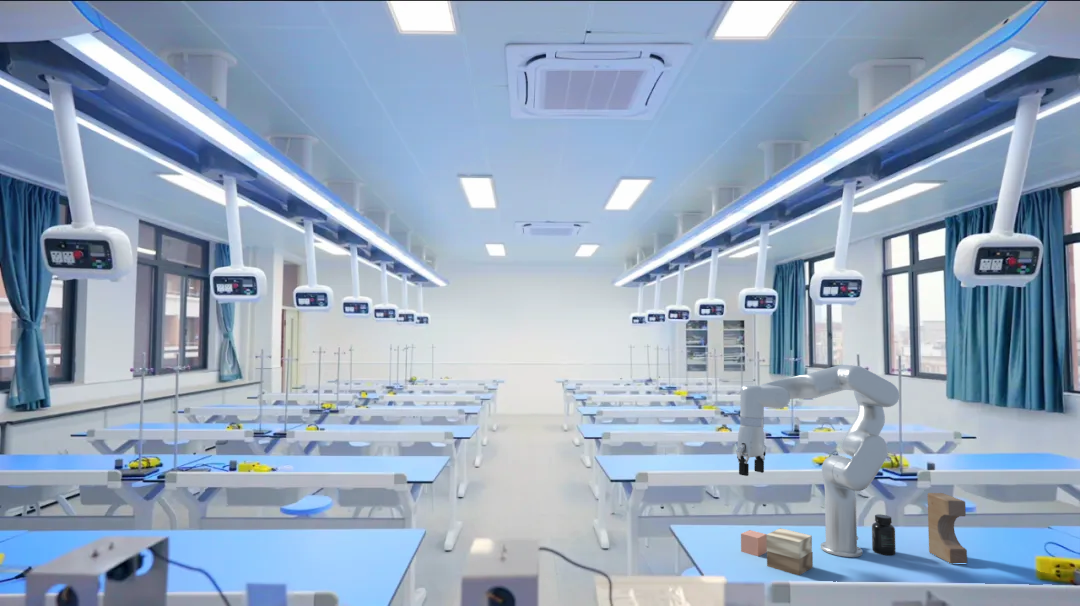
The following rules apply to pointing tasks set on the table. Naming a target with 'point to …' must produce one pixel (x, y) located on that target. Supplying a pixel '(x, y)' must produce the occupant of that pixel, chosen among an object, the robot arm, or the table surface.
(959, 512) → the decorative block
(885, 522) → the supplement bottle
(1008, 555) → the table surface
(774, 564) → the walnut base block
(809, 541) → the maple top block
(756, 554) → the terracotta cube
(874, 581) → the table surface
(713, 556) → the table surface
